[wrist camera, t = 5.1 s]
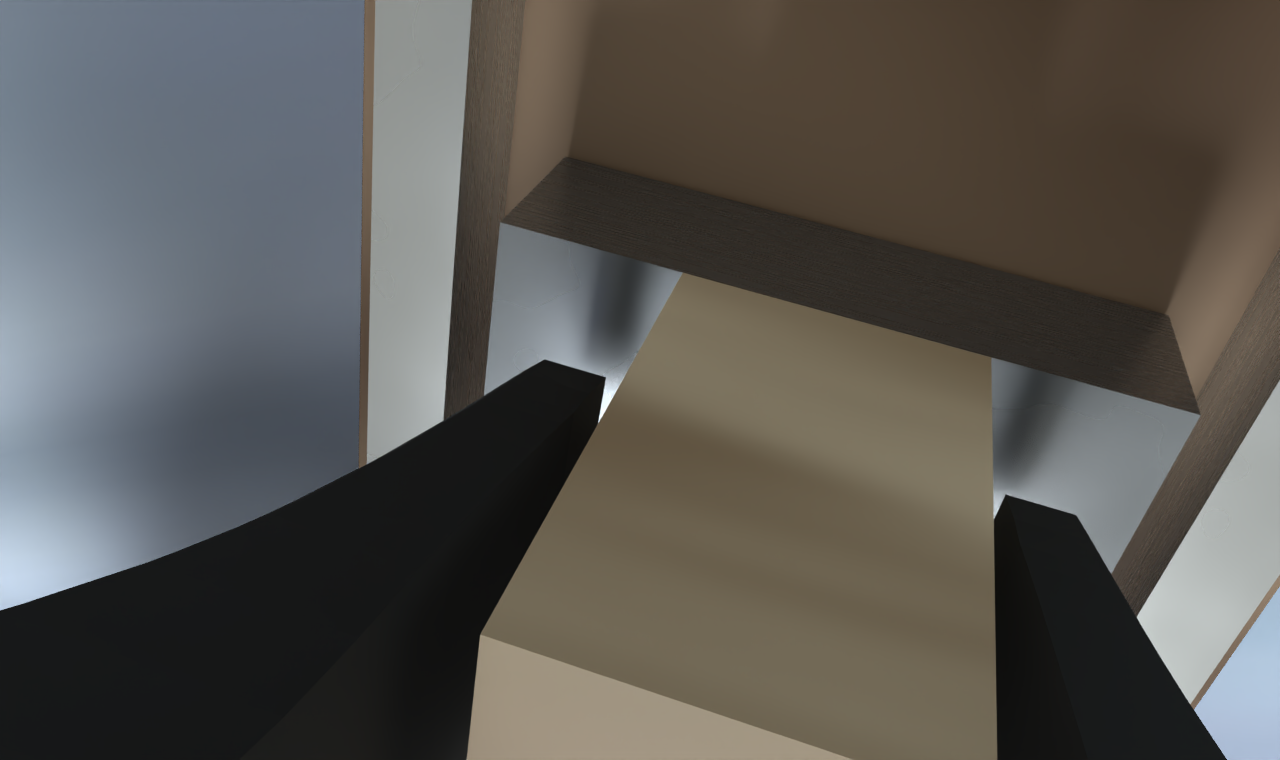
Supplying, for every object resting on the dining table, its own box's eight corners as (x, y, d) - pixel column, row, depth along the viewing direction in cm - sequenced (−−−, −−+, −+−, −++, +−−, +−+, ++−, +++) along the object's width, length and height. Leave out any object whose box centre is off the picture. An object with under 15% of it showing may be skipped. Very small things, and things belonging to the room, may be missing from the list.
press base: (955, 974, 20) (948, 1327, 16) (388, 771, 22) (236, 1037, 18) (1861, -444, 8) (2925, -663, 4) (449, -658, 10) (4, -986, 5)
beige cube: (964, 714, 15) (953, 1339, 9) (513, 568, 16) (242, 1047, 10) (1168, 315, 11) (1368, 930, 5) (565, 156, 12) (188, 537, 6)
